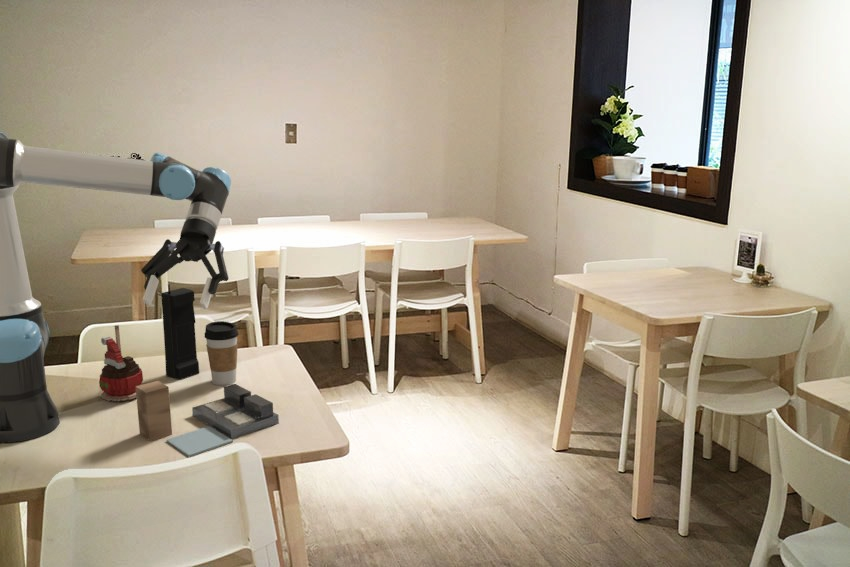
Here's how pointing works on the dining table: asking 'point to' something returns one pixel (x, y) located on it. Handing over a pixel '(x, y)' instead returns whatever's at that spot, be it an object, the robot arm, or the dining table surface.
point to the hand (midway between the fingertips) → (174, 304)
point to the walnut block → (153, 410)
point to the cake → (118, 372)
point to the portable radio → (179, 333)
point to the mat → (199, 441)
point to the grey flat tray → (237, 412)
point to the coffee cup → (222, 351)
